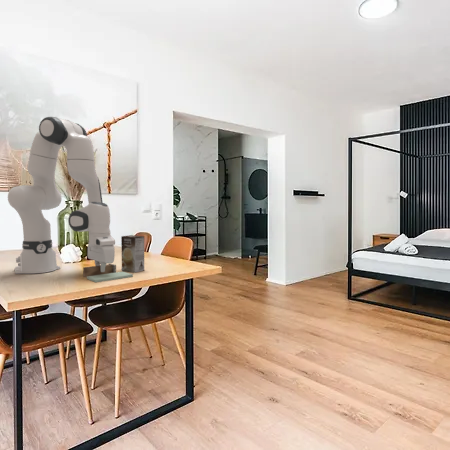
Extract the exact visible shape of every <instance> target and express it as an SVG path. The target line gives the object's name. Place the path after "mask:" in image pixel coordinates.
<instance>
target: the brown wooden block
mask: <svg viewBox="0 0 450 450" xmlns="http://www.w3.org/2000/svg"><path fill="white" fill-rule="evenodd" d="M82 267H83V266H82ZM100 267H101V264H100V266H96V265H93V266H84V267H83V268H82V271H83V274H82V276H83V278H86V279H87V276H94V275H101V274H108V273H116V272H117V265H116V264H113V263H108V264H106V267H105V272H100Z"/></svg>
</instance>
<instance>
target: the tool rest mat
mask: <svg viewBox="0 0 450 450" xmlns="http://www.w3.org/2000/svg"><path fill="white" fill-rule="evenodd" d="M133 276H134V275H133V273H129V272H127V271H118V272H117V271H116V273H108V274H101V275H94V276H87V278H86V280H89V281H91V282H94V283H101V282H107V281H113V280H121V279H126V278H127V279H129V278H133Z"/></svg>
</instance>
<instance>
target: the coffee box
mask: <svg viewBox="0 0 450 450" xmlns="http://www.w3.org/2000/svg"><path fill="white" fill-rule="evenodd" d="M120 238H121V271H122V272H128V273H129V272H131V273H139V272H143V270H144V271H145V236H143V235H135V234H134V235H133V234H131V235H122V236H121V237H120Z"/></svg>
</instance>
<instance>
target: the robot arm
mask: <svg viewBox="0 0 450 450" xmlns="http://www.w3.org/2000/svg"><path fill="white" fill-rule="evenodd" d="M38 130H39V131H38V132H36V134H35V136H34V137H33V140H32V143H31V147H30V151H29V158H28V162H27V168H26V169H27V173H28V174H29V175H30V176H31V177H32V179H33V185H28V184H26V185H25V184H22V185H17V186H13V187H12V188H10V189H9V191H8V193H7V201H8V204H9V205H10V206H11V207H12V208H13V209H14V210H15V211H16V213H18V216H19V218H20V220H21V223H22V231H23V232H22V233H23V235H22V236H23V241H22V244H21V245H22V248H21V249H22V251H21V252H20V254H19V256H18V257H16V258H15V263H17V266H15V267H14V274H41V273H43V274H44V273H50V272H53V271H56V270H59V269H61V266H60V265H57V264H58V263H57V254H56V253H57V252H56V251H55V250H54V249H53V240H52V236H51V234H52V231H51V223H50V221H49V220H48V219H46V218H45V217H44V214H43V211H48V210H52V209H55V208H57V207H59V206H60V205H61V202H62V193H61V192H60V191H59V190H58V188H57V184H56V179H55V175H56V169H57V168H56V167H57V161H58V156H59V151H60V149H61V148H62V147H64V148H65V149H66V167H67V171H68V176H70V178H71V179H73V180H74V181H76V182H77V183H79V184H80V185H82V186H83V187H84V188H85V191H86V193H87V194H86V195H87V201H88V204H87V205H86V206H84V207H82V208H80V209H76V210H73V211H71V212H70V214H69V216H68V225H69V227H70V229H71V230H73V231H74V232H88V244H87V258H88V259H89V260H92V261H94V266H100V265H101V267H100V272H105V267H106V265H108V264H113V263H114V262H115V256H116V254H115V244H116V240H115V239H114V238H113V237H112V235H111V230H110V226H111V225H110V224H111V214H110V208H109V205H108V204H107V203H105V202H103V196H102V190H101V184H100V179H99V177H98V175H97V171H96V166H95V165H96V164H95V152H94V147H93V142H92V139H90V137H88V133H87V131H86V129H85V128H84V126H82V125H81V124H79V123H76V122H73V121H71V120H69V119H64V118H59V117H57V116H47V117H44V118H42V119H41V121H40V123H39V126H38Z"/></svg>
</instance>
